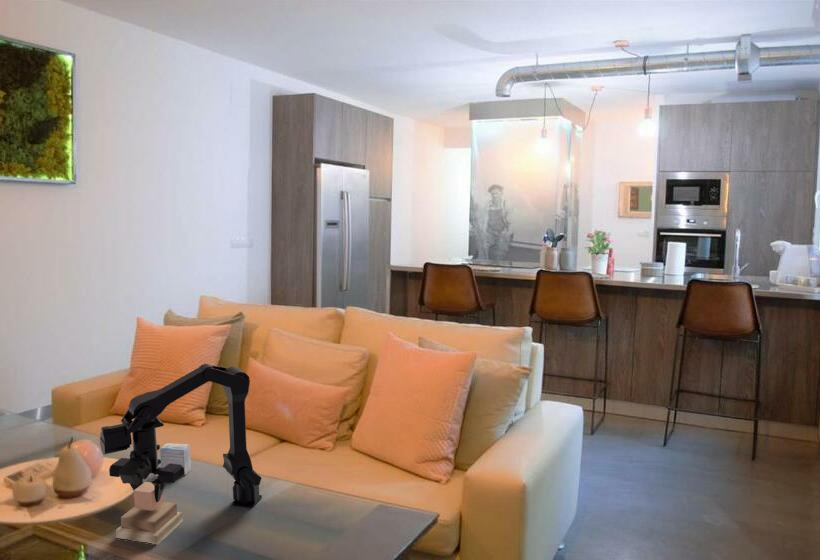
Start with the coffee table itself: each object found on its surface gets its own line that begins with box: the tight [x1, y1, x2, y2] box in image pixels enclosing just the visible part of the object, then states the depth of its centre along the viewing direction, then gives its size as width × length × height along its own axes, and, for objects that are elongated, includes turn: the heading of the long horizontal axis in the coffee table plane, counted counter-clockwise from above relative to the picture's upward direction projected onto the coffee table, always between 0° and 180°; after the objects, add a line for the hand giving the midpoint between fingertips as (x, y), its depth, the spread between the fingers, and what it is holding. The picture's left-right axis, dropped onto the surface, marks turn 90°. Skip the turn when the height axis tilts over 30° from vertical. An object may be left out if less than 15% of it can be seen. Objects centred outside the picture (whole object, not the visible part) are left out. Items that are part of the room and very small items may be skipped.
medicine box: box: [159, 442, 192, 476], centre depth 216 cm, size 8×4×9 cm, turn 84°
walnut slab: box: [120, 501, 178, 533], centre depth 183 cm, size 10×10×3 cm
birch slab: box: [115, 511, 184, 546], centre depth 183 cm, size 12×12×3 cm
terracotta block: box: [133, 481, 164, 511], centre depth 181 cm, size 5×5×5 cm
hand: (148, 500), depth 182 cm, fingers closed on terracotta block, 5 cm apart
